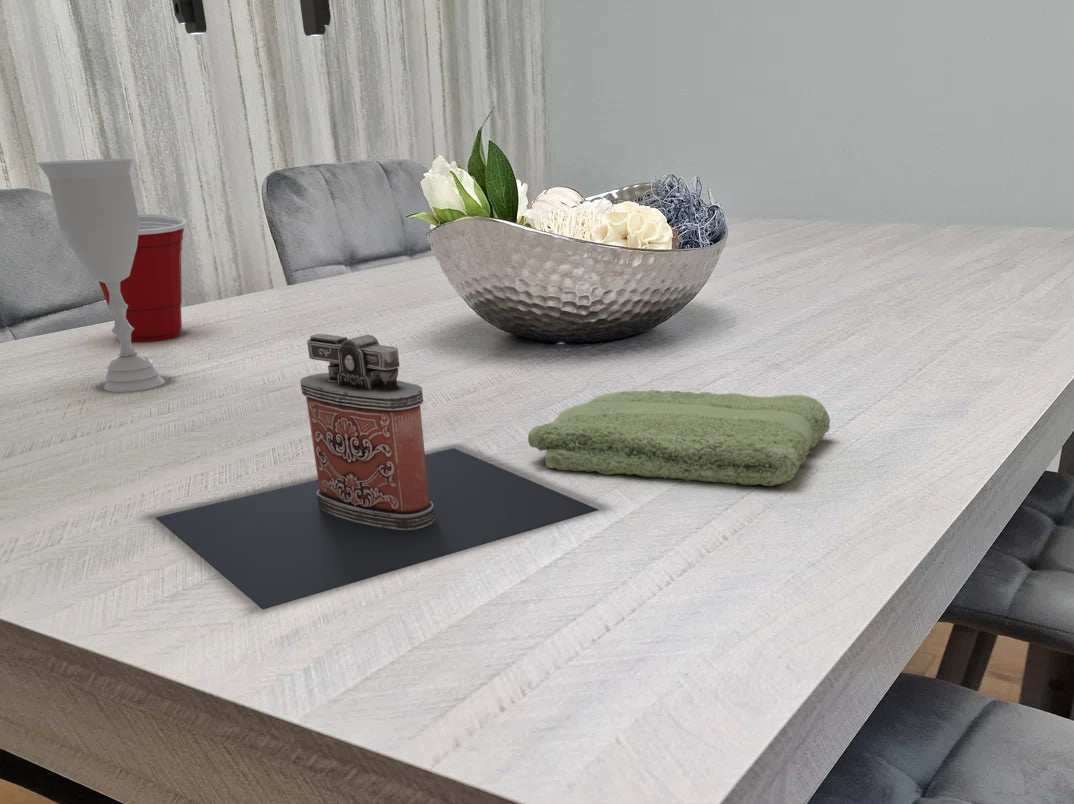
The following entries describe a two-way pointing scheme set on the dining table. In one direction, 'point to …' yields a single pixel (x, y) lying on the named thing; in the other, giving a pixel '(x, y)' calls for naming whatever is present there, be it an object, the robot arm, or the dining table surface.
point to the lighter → (367, 435)
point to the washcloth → (686, 436)
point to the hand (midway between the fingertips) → (257, 34)
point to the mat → (361, 529)
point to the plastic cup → (154, 280)
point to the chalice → (104, 246)
